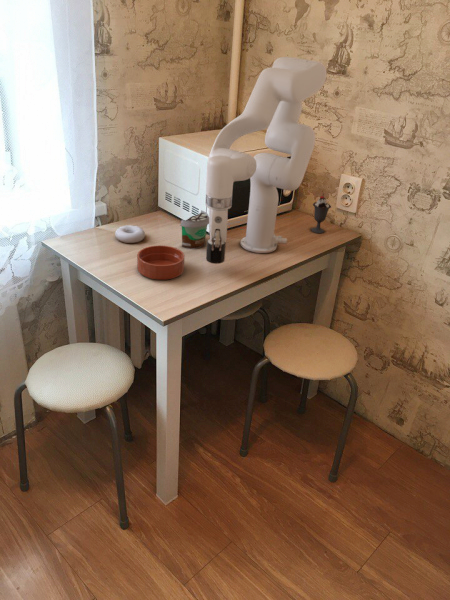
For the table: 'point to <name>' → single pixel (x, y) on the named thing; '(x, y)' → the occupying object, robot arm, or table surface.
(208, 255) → the sushi roll
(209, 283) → the table surface
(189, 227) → the food container
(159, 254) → the bowl
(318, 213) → the sundae
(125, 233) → the donut
